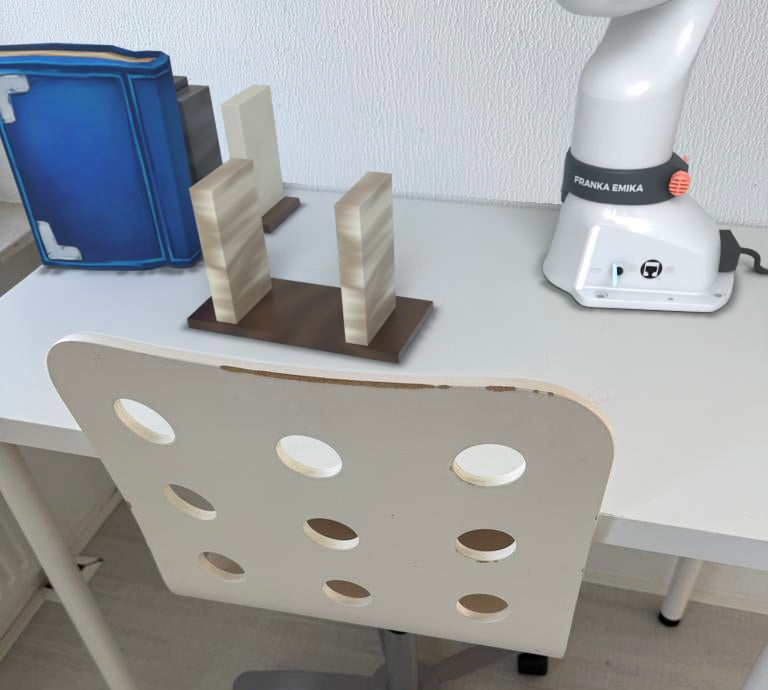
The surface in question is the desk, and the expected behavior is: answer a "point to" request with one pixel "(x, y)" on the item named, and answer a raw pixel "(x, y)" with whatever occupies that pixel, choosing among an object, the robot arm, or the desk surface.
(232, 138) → the ivory book
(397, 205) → the desk surface
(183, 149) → the book
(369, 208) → the ivory stand
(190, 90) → the grey stand
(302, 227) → the desk surface
